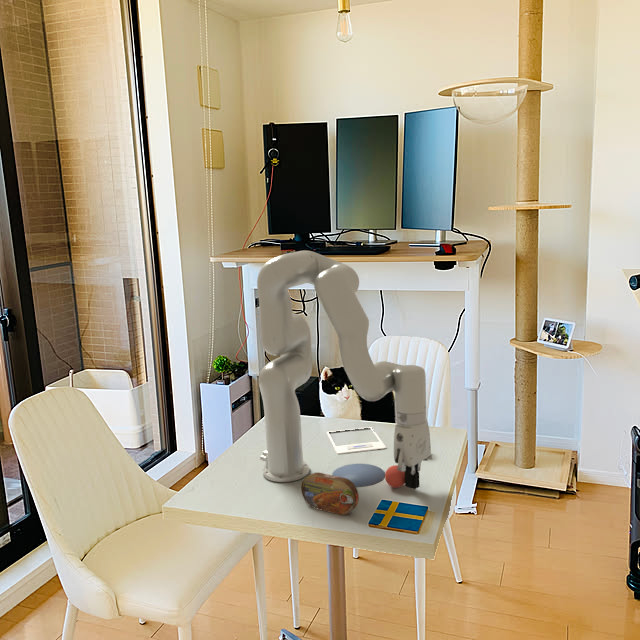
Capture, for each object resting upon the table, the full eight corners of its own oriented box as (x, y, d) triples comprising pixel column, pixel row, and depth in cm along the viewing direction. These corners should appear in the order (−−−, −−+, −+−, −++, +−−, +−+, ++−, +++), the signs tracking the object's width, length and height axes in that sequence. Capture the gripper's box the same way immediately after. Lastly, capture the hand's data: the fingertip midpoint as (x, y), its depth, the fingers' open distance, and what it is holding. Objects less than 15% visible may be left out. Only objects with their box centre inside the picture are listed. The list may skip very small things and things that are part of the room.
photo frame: (337, 452, 187) (326, 431, 205) (337, 456, 188) (326, 434, 205) (386, 446, 190) (371, 426, 207) (386, 450, 190) (371, 429, 207)
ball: (399, 493, 161) (381, 487, 165) (411, 485, 165) (393, 480, 169) (398, 472, 160) (380, 467, 164) (410, 464, 164) (392, 460, 168)
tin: (301, 504, 158) (299, 472, 157) (308, 499, 161) (306, 467, 159) (354, 519, 150) (352, 485, 148) (361, 513, 152) (359, 479, 151)
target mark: (321, 477, 172) (321, 477, 172) (354, 460, 183) (353, 459, 183) (363, 491, 163) (363, 490, 163) (395, 472, 173) (395, 471, 173)
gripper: (406, 428, 150) (408, 502, 154) (440, 410, 161) (441, 480, 164) (379, 422, 155) (382, 494, 158) (414, 405, 166) (416, 472, 169)
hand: (412, 486), depth 161 cm, fingers closed
